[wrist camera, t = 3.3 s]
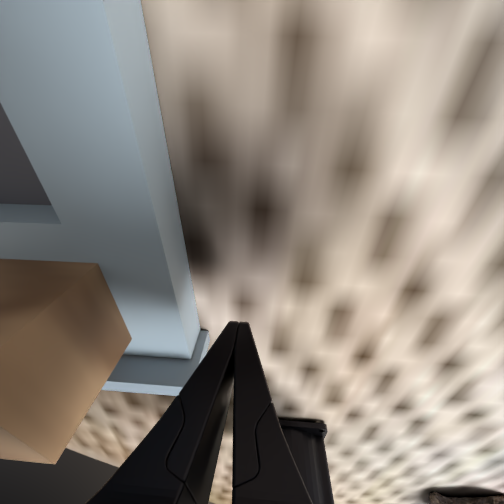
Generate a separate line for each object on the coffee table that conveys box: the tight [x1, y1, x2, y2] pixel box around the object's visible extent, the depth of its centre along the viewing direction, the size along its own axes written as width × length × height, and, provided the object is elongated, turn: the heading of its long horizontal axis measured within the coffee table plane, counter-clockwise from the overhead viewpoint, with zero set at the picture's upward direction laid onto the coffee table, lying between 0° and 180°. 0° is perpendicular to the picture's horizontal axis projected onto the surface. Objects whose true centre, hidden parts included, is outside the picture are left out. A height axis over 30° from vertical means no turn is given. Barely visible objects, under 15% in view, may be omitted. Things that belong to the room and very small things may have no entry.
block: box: [0, 259, 132, 464], centre depth 8 cm, size 5×5×5 cm
